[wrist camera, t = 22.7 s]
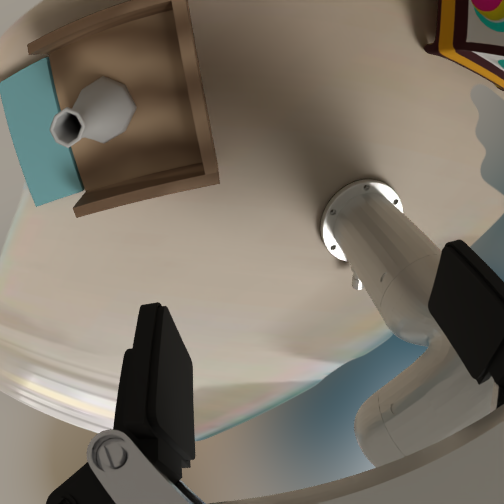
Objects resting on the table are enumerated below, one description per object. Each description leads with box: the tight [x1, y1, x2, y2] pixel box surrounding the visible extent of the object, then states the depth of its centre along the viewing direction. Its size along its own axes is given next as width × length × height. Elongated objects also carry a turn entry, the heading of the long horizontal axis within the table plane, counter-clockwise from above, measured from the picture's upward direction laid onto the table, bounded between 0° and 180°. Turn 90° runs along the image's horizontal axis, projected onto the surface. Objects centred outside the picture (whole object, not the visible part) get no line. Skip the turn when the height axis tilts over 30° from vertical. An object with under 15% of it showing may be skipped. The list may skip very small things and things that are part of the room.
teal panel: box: [0, 57, 85, 207], centre depth 28 cm, size 17×1×8 cm
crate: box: [27, 0, 220, 218], centre depth 27 cm, size 20×16×6 cm
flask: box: [50, 76, 137, 148], centre depth 24 cm, size 7×7×10 cm
